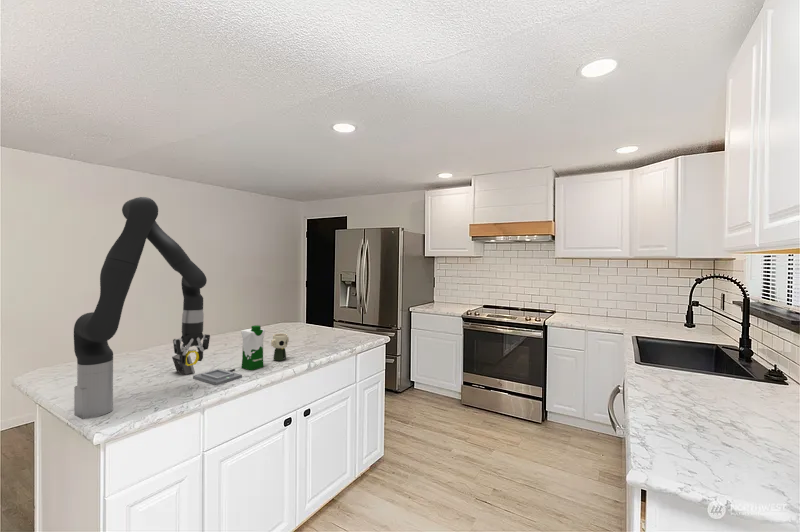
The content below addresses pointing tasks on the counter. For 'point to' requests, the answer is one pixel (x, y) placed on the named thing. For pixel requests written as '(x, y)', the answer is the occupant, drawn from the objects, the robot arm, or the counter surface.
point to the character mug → (280, 345)
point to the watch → (195, 359)
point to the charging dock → (217, 376)
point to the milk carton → (252, 348)
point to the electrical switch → (183, 368)
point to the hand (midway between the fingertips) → (191, 362)
